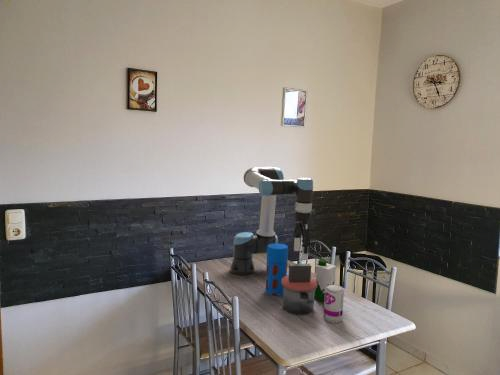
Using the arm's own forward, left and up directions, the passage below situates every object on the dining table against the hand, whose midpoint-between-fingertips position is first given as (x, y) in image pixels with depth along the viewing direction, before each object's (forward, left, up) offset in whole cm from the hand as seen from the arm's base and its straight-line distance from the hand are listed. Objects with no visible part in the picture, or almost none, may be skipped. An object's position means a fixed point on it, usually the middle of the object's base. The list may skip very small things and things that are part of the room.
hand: (300, 255), depth 175 cm
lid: (0, 0, -14) cm, 14 cm away
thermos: (-20, -7, -26) cm, 33 cm away
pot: (0, 0, -26) cm, 26 cm away
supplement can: (+12, +13, -26) cm, 32 cm away
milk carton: (-9, +16, -26) cm, 32 cm away
